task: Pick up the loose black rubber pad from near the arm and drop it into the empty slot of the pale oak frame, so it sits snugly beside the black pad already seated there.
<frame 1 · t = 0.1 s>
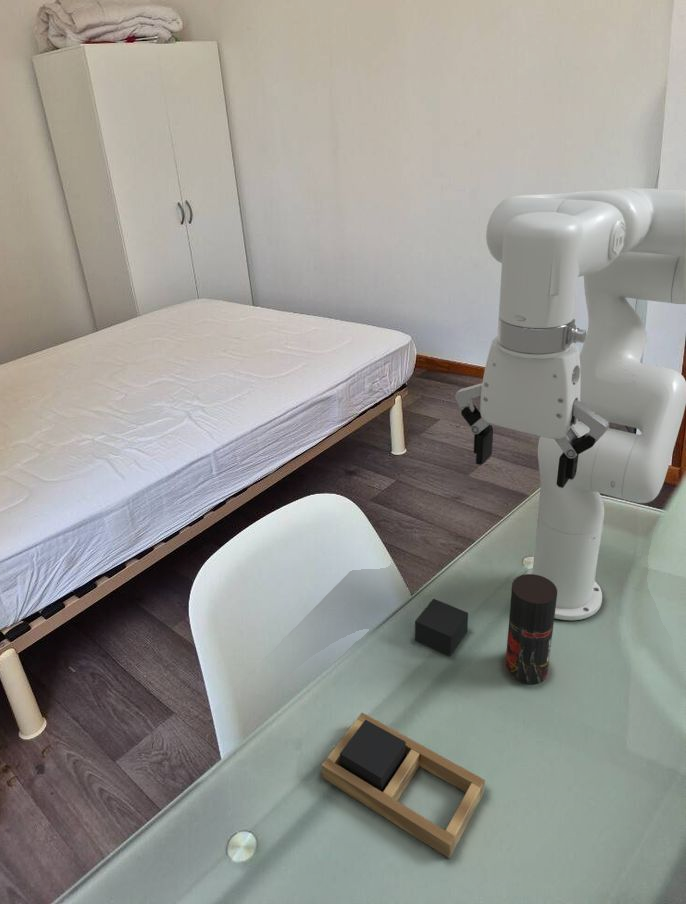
hand: (522, 470, 81), 37 cm above the table, tool pointing down, fingers open, 9 cm apart
pad seated: (373, 768, 88), resting in frame
frame: (401, 785, 85), on the table
pad loose: (441, 636, 107), on the table
deodorant: (526, 669, 100), on the table
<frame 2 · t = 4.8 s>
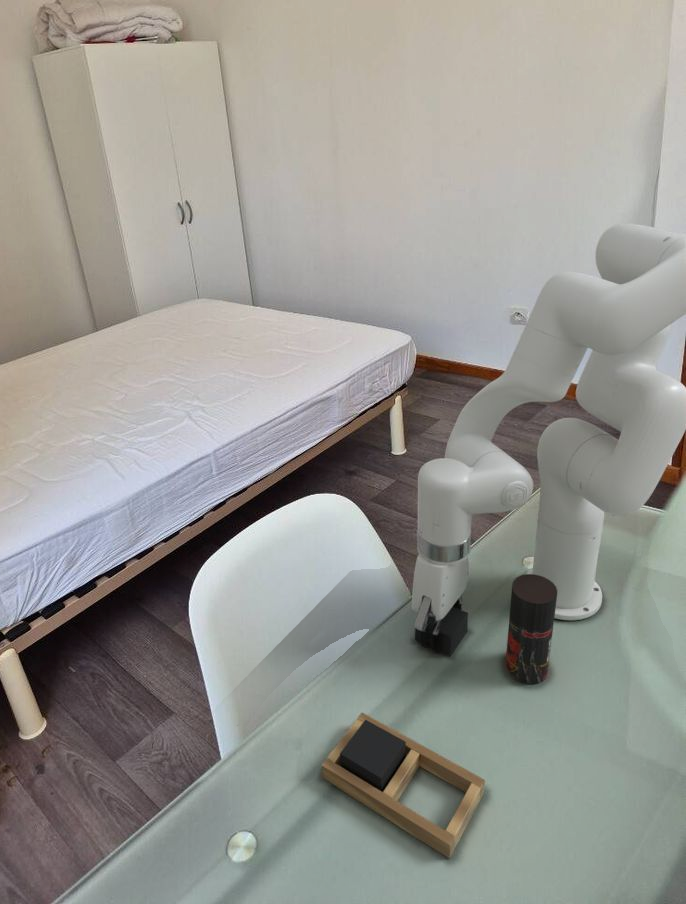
hand: (441, 633, 107), 1 cm above the table, tool pointing down, fingers closed on pad loose, 6 cm apart
pad loose: (441, 636, 107), on the table, touching gripper
everything else where it was.
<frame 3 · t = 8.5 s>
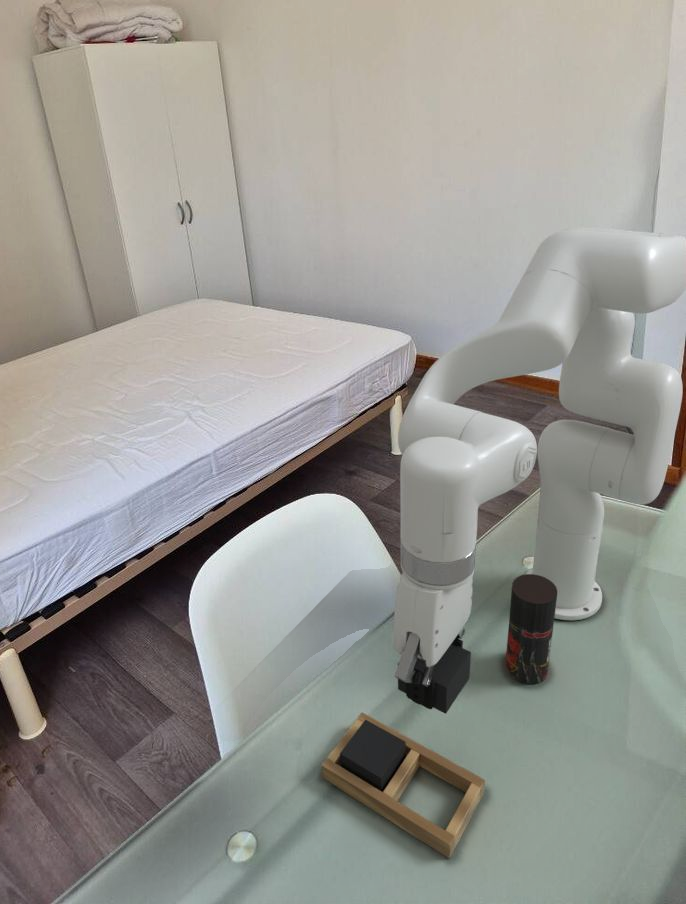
hand: (434, 680, 78), 18 cm above the table, tool pointing down, fingers closed on pad loose, 6 cm apart
pad loose: (433, 683, 78), point 17 cm above the table, touching gripper
everything else where it was.
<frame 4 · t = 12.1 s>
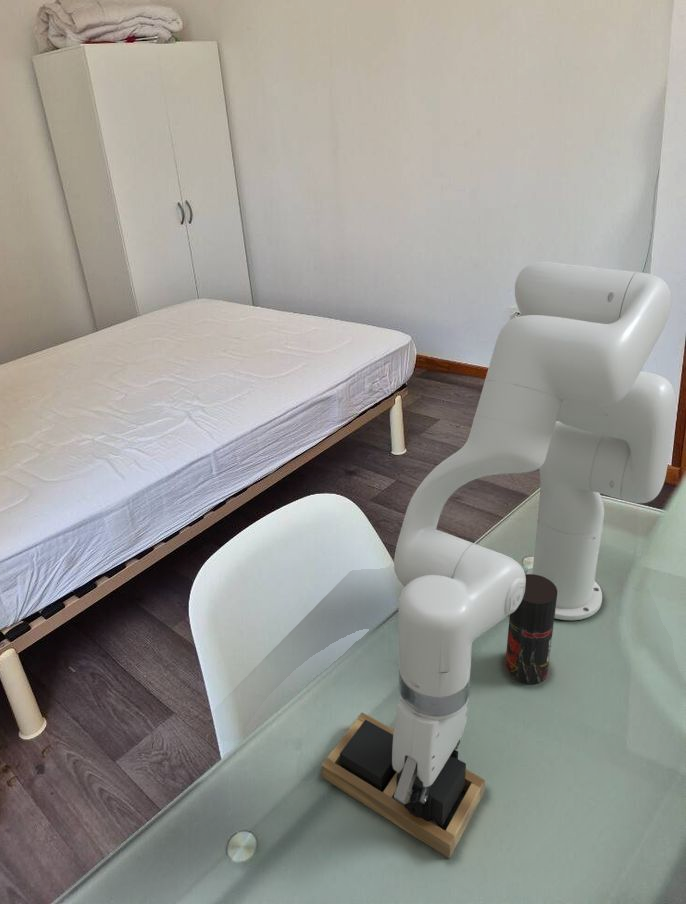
hand: (431, 789, 82), 3 cm above the table, tool pointing down, fingers closed on pad loose, 6 cm apart
pad loose: (430, 792, 82), point 2 cm above the table, touching gripper
everything else where it was.
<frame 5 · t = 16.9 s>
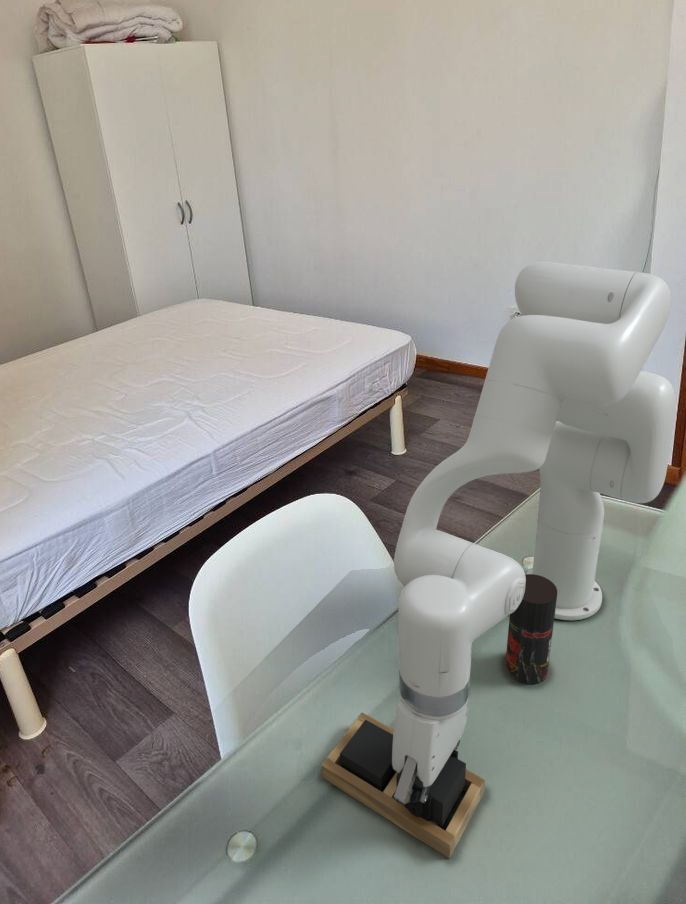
hand: (431, 789, 82), 3 cm above the table, tool pointing down, fingers closed on pad loose, 6 cm apart
pad loose: (430, 791, 82), point 2 cm above the table, touching gripper
everything else where it was.
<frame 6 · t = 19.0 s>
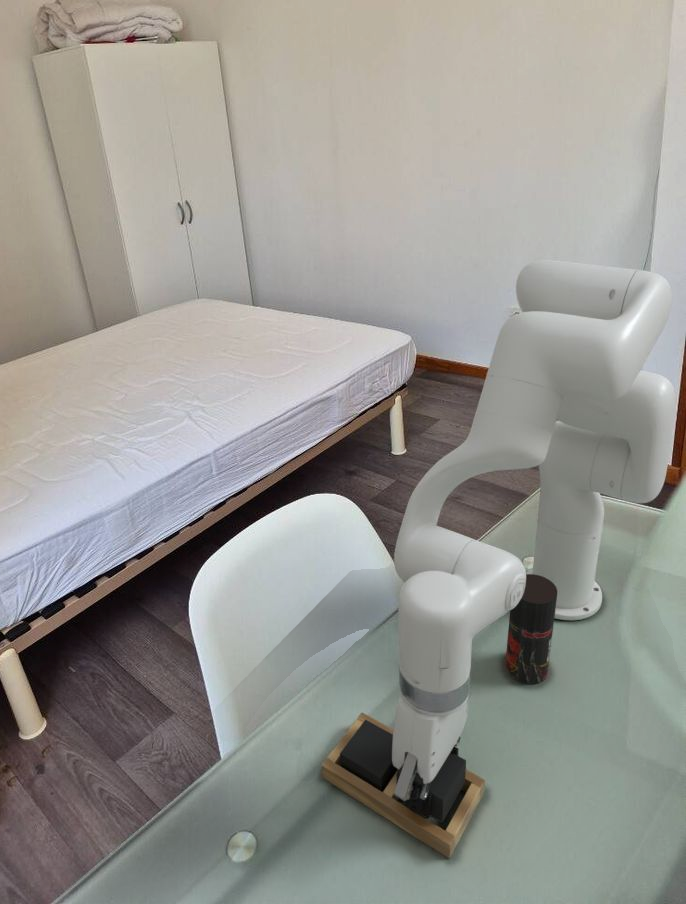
hand: (431, 786, 82), 3 cm above the table, tool pointing down, fingers closed on pad loose, 6 cm apart
pad loose: (431, 788, 82), point 3 cm above the table, touching gripper
everything else where it was.
when the fingers open (4 cm above the table, at t = 21.0 s): pad loose drops 3 cm, resting in frame.
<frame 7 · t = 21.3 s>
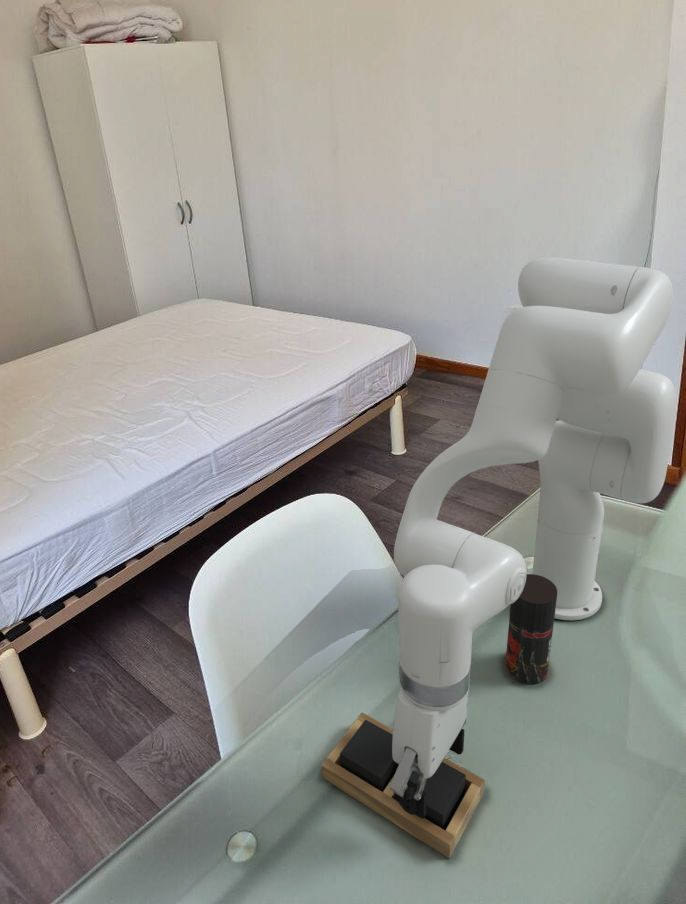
hand: (432, 777, 81), 5 cm above the table, tool pointing down, fingers open, 9 cm apart
pad loose: (431, 802, 83), resting in frame
everything else where it was.
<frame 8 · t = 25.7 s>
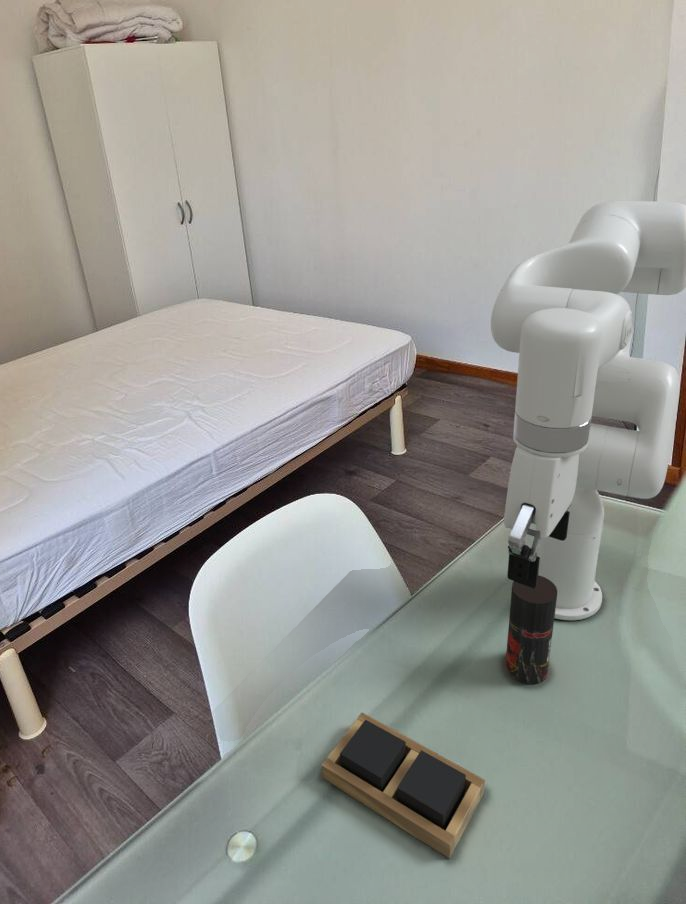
hand: (537, 558, 79), 28 cm above the table, tool pointing down, fingers open, 9 cm apart
nothing on the table moved.
at the end: pad loose 0.1 cm from the target spot in the frame, point 0.0 cm above the frame's base; pad loose 8.1 cm from the pad seated (horizontally); pad loose tilted 0° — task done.
